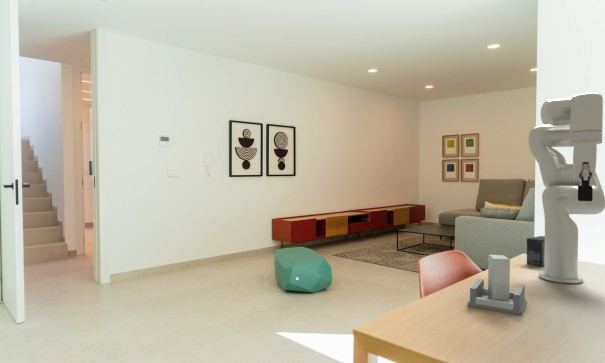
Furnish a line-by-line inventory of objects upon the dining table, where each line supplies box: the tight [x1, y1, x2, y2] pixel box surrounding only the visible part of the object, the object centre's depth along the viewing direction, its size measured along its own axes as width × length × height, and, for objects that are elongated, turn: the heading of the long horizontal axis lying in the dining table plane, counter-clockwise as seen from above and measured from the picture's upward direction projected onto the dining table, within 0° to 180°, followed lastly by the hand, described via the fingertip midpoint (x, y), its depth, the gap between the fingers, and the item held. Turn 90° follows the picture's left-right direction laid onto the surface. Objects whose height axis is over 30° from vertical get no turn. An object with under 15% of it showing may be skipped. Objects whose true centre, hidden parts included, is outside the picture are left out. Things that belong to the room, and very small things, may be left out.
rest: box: [467, 278, 528, 316], centre depth 111 cm, size 12×13×5 cm
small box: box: [526, 235, 545, 268], centre depth 161 cm, size 11×6×10 cm, turn 122°
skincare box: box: [487, 254, 511, 302], centre depth 111 cm, size 6×4×12 cm
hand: (584, 200), depth 114 cm, fingers open, 9 cm apart
